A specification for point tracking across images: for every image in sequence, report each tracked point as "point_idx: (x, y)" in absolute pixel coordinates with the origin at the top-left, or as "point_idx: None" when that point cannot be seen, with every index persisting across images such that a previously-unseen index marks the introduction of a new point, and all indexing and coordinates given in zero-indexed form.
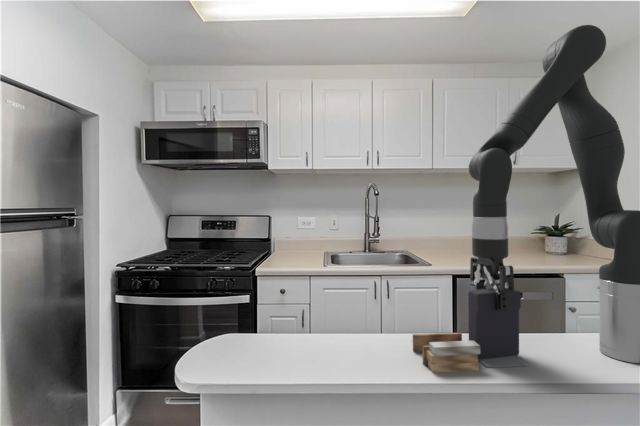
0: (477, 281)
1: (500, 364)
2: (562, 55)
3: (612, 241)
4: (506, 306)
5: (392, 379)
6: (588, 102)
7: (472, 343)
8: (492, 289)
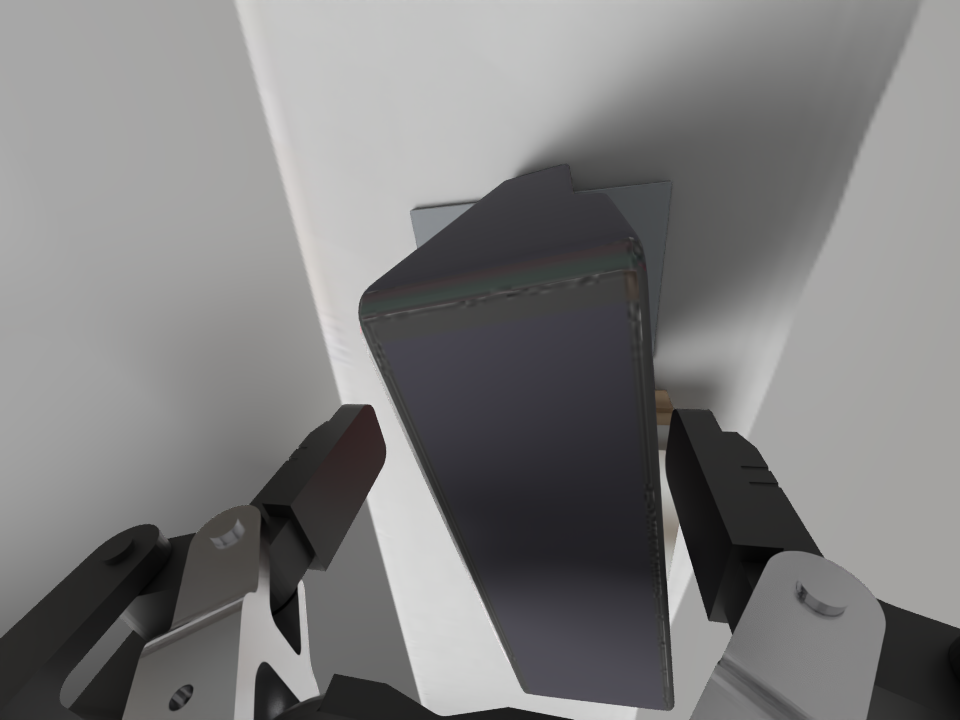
0: (307, 636)
1: (652, 305)
2: None
3: None
4: (763, 463)
5: (668, 587)
6: None
7: (660, 466)
8: (506, 563)
